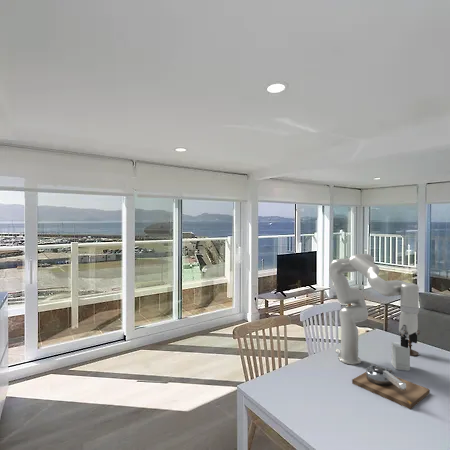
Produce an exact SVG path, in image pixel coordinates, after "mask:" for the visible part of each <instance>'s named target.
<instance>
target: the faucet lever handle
mask: <svg viewBox="0 0 450 450" xmlns="http://www.w3.org/2000/svg"><path fill="white" fill-rule="evenodd" d="M365 370H366V371H365V372H366V378H367V380H369V381H370V382H372V383H374V384H377V385H381V386H390V385H392V384H394V385H396V386H397V387H398V388H399V389H400V390H402V391H406V383H404V382H402V381H400V380H399V379H398V378H399V377H398V378H396V377H397V376H396V377H395V375H394V373H393V370H392V369H391V368H386V367H382V366H377V365H376V364H374V363H372V364H370V365H369V366H368V367H366V369H365Z"/></svg>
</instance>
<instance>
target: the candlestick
mask: <svg viewBox="0 0 450 450" xmlns="http://www.w3.org/2000/svg"><path fill="white" fill-rule="evenodd" d="M406 333H408V332H406ZM417 333H418V334H417V336H419V335H421V331H420V330H419V329H418V330H417ZM408 347H409V348H410V357H418V356H419V352H418V351H416V350H415V349H412V347H413V342H410V335H409V336H408Z"/></svg>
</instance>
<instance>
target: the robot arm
mask: <svg viewBox="0 0 450 450" xmlns="http://www.w3.org/2000/svg"><path fill="white" fill-rule="evenodd" d="M328 271H329V275H330V277H331V280H332V283H333V287H334V289H335V293H336V298H337V301H338V302H339V303H340V304H341V305H348V306H344V307H342V308H341V309H340V310H339V312H338V314H339V321H340V322H339V323H340V348H338V347H336V349H335V353H336V354H338V356H337V357H338V358H337V359H338V361H340V362H341V363H344V364H346V365H350V366H351V365H352V366H353V365H354V366H356V365H360V364H361V363H362V359H361V358H360V357H359V329H358V327H357V324H356V323H360V322H364V321H366V320H367V319H368V318H369V311H368V307H367V304H366V300H365V297H364V294H363V292H362V291H361V289H359V288H358V287H354V286H352V287H350V284H349V280H348V278H347V276H345V274H344V273H355V272H358V273H360V274H361V275H362V276H363V277H365V278H366V279H367V282H368V284H369V286H370V287H371V288H372V289H373V290H374V291H376V292H377V293H379V294H380V295H381V296H384V297H389V298H390V297H395V296H400V311H399V312H400V315H399V321H398V322H399V324H398V332H399V336H400V343H401V346H402V347H405V348H408V347H409V346H408V344H409V343H408V340H409V335H410V342H412V344H413V343H414V344H418V335H417V334H418V333H417V330H419V320H418V319H419V318H418V314H419V310H420V308H419V304H420V303H419V302H420V301H419V297H420V296H419V293H420V291H419V290H420V287H419V285H417V284H416V283H412V282H410V283H409V282H406V281H403V280H399V279H394V280H385V279H383V278H382V277H380V275H379V274H380V267H379V266H378V265H377V264H376V263H375V260H374V258H373V256H372V255H371V254H368V253H357V254H356V253H355V254H352V255H351V256H350V257H349V258H336V259H333V260H332V261H331V262H330V263H329V269H328ZM349 304H350V306H349ZM406 332H408V333H406Z"/></svg>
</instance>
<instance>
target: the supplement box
mask: <svg viewBox="0 0 450 450" xmlns="http://www.w3.org/2000/svg"><path fill="white" fill-rule="evenodd" d="M391 365H392V366H393V368H394V369H395V370H398V371H399V370H400V371H410V370H411V356H410V348H409V346H408V348H405V347H402V346H401V342H393V341H392V342H391Z"/></svg>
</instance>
